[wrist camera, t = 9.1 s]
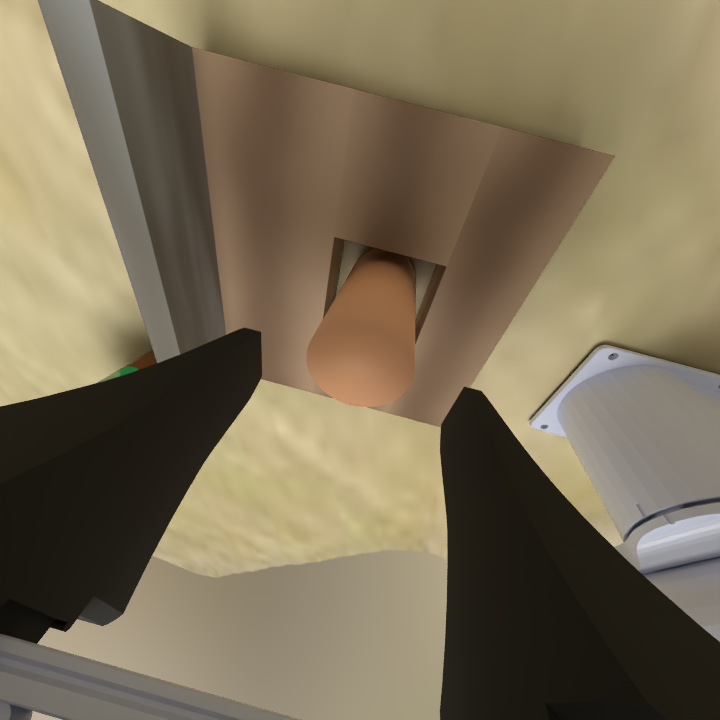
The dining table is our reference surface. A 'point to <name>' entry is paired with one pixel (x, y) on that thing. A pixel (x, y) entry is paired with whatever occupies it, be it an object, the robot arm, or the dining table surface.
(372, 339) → the peg
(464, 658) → the robot arm
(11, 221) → the dining table surface
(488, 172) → the socket block
